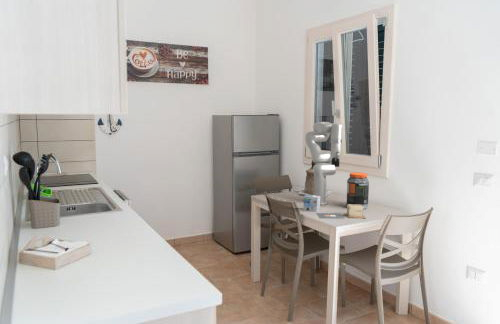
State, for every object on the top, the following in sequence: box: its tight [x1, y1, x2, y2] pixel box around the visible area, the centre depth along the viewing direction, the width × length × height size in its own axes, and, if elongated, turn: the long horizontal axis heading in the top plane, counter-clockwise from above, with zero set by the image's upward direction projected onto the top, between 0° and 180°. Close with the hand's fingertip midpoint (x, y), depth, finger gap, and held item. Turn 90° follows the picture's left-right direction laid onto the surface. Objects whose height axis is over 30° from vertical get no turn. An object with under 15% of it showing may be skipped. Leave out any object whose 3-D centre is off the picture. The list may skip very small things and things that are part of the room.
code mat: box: [315, 212, 346, 220], centre depth 266 cm, size 14×17×1 cm
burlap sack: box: [297, 160, 332, 197], centre depth 338 cm, size 25×25×32 cm
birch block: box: [346, 203, 364, 217], centre depth 266 cm, size 6×9×7 cm, turn 91°
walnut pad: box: [343, 212, 367, 220], centre depth 266 cm, size 12×12×1 cm
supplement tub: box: [346, 172, 370, 210], centre depth 291 cm, size 16×16×26 cm
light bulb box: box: [302, 194, 321, 213], centre depth 281 cm, size 11×7×11 cm, turn 62°
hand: (335, 165), depth 274 cm, fingers open, 9 cm apart
